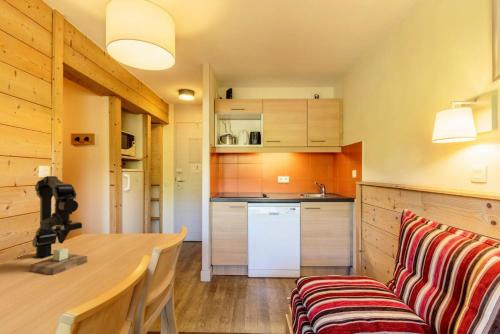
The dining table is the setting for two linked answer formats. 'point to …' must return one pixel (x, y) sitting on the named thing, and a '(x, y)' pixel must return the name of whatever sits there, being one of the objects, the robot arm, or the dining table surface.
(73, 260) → the board
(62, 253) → the peg
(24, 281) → the dining table surface
